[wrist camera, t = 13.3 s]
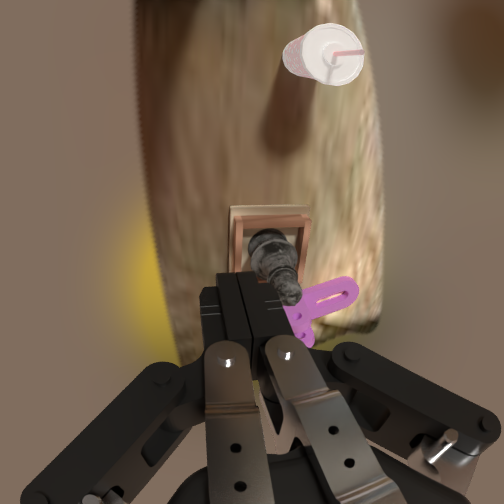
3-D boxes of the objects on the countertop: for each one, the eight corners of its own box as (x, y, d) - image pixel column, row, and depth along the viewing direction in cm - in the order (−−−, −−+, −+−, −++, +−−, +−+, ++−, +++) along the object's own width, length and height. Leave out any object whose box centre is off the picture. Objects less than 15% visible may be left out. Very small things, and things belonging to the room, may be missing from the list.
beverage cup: (336, 56, 32) (406, 54, 20) (306, 92, 34) (366, 105, 22) (297, 23, 29) (354, 0, 17) (264, 60, 31) (308, 52, 19)
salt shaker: (268, 273, 44) (292, 334, 34) (236, 250, 42) (253, 312, 32) (298, 242, 43) (332, 299, 33) (267, 217, 40) (296, 271, 30)
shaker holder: (229, 205, 39) (233, 215, 37) (307, 204, 41) (315, 214, 39) (228, 280, 45) (231, 293, 42) (297, 275, 47) (303, 287, 44)
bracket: (282, 322, 51) (293, 354, 46) (275, 297, 48) (287, 329, 43) (356, 297, 52) (374, 324, 46) (354, 271, 49) (374, 298, 43)
